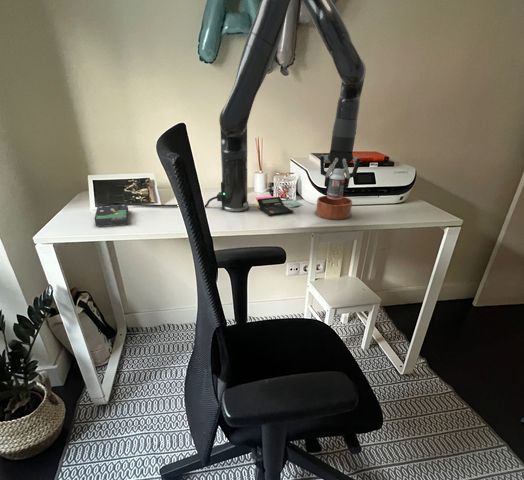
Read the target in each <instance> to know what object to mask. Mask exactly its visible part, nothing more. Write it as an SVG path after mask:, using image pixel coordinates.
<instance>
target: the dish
mask: <svg viewBox="0 0 524 480" xmlns="http://www.w3.org/2000/svg"><path fill="white" fill-rule="evenodd" d="M352 206H353V200H352V199H351V198H348V197H346V196H343V197H342V199H339V200H333V199H329V198H327V195H322V196H319V197H317V200H316V208H315V213H316V215H317V216H318V217H320V218H323V219H328V220H334V221H335V220H336V221H337V220H344V219H348V218H349V217H350V216H351V212H352Z"/></svg>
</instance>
